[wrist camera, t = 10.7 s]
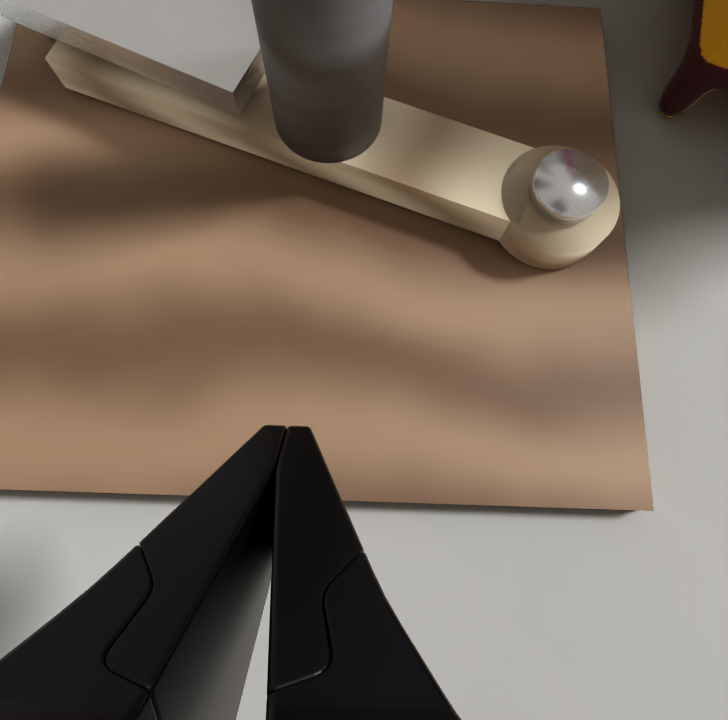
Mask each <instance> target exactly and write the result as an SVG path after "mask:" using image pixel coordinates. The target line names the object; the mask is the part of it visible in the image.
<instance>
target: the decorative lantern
mask: <svg viewBox="0 0 728 720" xmlns="http://www.w3.org/2000/svg"><path fill="white" fill-rule="evenodd" d="M720 87H728V0H695V1H694V10H693V20H692V30H691V35H690V41H689V44H688V47H687V50H686V53H685V56H684V59H683V61H682V63H681V64H680V66H679V68H678V69H677V71H676V72H675V74H674V76H673V77H672V79H671V81H670V82H669V84H668V85H667V87H666V89H665V90H664V92H663V93H662V96H661V99H660V102H659V108H660V111H661V114H663V115H665V116H667V117H673V116H676V115H678V114H681V113H682V112H684V111H685V110H686V109H687V108H689V107H690V106H691V105H692V104H694V103H695V102H696V101H697V100H699V99H700V98H701V97H702V96H704V95H705V94H707V93H708V92H710V91H712V90H714V89H717V88H720Z"/></svg>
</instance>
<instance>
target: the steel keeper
mask: <svg viewBox="0 0 728 720" xmlns="http://www.w3.org/2000/svg"><path fill="white" fill-rule="evenodd" d="M0 14H1V16H2V17H4V18H6V19H8V20H11V21H13V22H16V23H18V24H20V25H23V26H25V27H28V28H30V29H33V30H35V31H37V32H40V33H42V34H45V36H46V37H47V38H48V39H49V40H51V41H53V42H56V41H57V40H59V41H61V42H64V43H66V44H69V45H71V46H73V47H76V48H78V49H81V50H83V51H85V52H88V53H90V54H93V55H95V56H97V57H100V58H102V59H105V60H107V61H110V62H112V63H114V64H117V65H119V66H122V67H124V68H126V69H129V70H131V71H134V72H136V73H138V74H141V75H143V76H146V77H148V78H150V79H153V80H155V81H158V82H160V83H162V84H165V85H167V86H170V87H172V88H174V89H177V90H179V91H182V92H184V93H187V94H189V95H191V96H194V97H196V98H199V99H201V100H203V101H206V102H208V103H211V104H213V105H215V106H218V107H220V108H223V109H225V110H227V111H230V112H232V113H235V114H237V115H240V113H241V112H242V110H243V108H244V107H245V105H246V104H247V102H248V100H249V99H250V97H251V96H252V94H253V92H254V91H255V89H256V87H257V86H258V84H259V83H260V81H261V79H262V78H263V76H264V74H265V69H264V64H263V58H262V53H261V48H260V43H259V38H258V33H257V28H256V23H255V17H254V12H253V7H252V2H251V0H0ZM608 190H609V181H608V177H607V174H606V172H605V170H604V168H603V167H602V165H601V164H600V163H599V162H598V161H597V160H596V159H595V158H593V157H592V156H590V155H589V154H587V153H585V152H582V151H579V150H574V149H562V150H557V151H554V152H552V153H550V154H548V155H547V156H546V157H545V158H544V159H543V160H542V161H541V162H540V164H539V165H538V167H537V169H536V171H535V172H534V174H533V176H532V178H531V180H530V183H529V197H530V200H531V202H532V204H533V206H534V208H535V209H536V210H537V211H538V212H539V213H540V214H541V215H542V216H543V217H545V218H546V219H548V220H550V221H552V222H555V223H558V224H564V225H572V224H577V223H580V222H583V221H585V220H586V219H588V218H589V217H590V216H591V215H592V214H593V213H594V212H595V211H596V210H597V209H598V208H599V206H600V205H601V204H602V203H603V202H604V200H605V199H606V197H607V194H608Z"/></svg>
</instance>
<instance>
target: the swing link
mask: <svg viewBox="0 0 728 720" xmlns="http://www.w3.org/2000/svg"><path fill="white" fill-rule="evenodd" d="M251 2H252V7H253V12H254V17H255V23H256V28H257V33H258V38H259V43H260V48H261V53H262V58H263V64H264V69H265V74H264V76H263V78H262V79H261V81H260V83H259V84H258V86H257V87H256V89H255V91H254V92H253V94H252V96H251V97H250V99H249V100H248V102H247V104H246V105H245V107H244V108H243V110H242V112H241V113H240V115H237V114H235V113H232V112H230V111H227V110H225V109H223V108H220V107H218V106H215V105H213V104H211V103H208V102H206V101H203V100H201V99H199V98H196V97H194V96H191V95H189V94H187V93H184V92H182V91H179V90H177V89H174V88H172V87H170V86H167V85H165V84H162V83H160V82H158V81H155V80H153V79H150V78H148V77H146V76H143V75H141V74H138V73H136V72H134V71H131V70H129V69H126V68H124V67H122V66H119V65H117V64H114V63H112V62H110V61H107V60H105V59H102V58H100V57H97V56H95V55H93V54H90V53H88V52H85V51H83V50H81V49H78V48H76V47H73V46H71V45H69V44H66V43H64V42H61V41H59V40H57V41H56V42H55V44H54V45H53V47H52V48H51V50H50V51H49V53H48V54H47V56H46V57H45V59H46V61H47V62H48V63H49V65H50V66H51V68H52V69H53V71H54V72H55V73H56V75H57V76H58V78H59V79H60V81H61V82H62V84H63V85H64V86H65V88H68V89H71V90H73V91H76V92H79V93H82V94H85V95H88V96H90V97H93V98H96V99H99V100H102V101H105V102H107V103H110V104H113V105H116V106H119V107H122V108H124V109H127V110H130V111H133V112H136V113H139V114H141V115H144V116H147V117H150V118H153V119H156V120H158V121H161V122H164V123H167V124H170V125H172V126H175V127H178V128H181V129H184V130H187V131H189V132H192V133H195V134H198V135H201V136H204V137H206V138H209V139H212V140H215V141H218V142H221V143H223V144H226V145H229V146H232V147H235V148H238V149H240V150H243V151H246V152H249V153H252V154H255V155H257V156H260V157H263V158H266V159H269V160H271V161H274V162H277V163H280V164H283V165H286V166H288V167H291V168H294V169H297V170H300V171H303V172H305V173H308V174H311V175H314V176H317V177H320V178H322V179H325V180H328V181H331V182H334V183H337V184H339V185H342V186H345V187H348V188H351V189H354V190H356V191H359V192H362V193H365V194H368V195H370V196H373V197H376V198H379V199H382V200H385V201H387V202H390V203H393V204H396V205H399V206H402V207H404V208H407V209H410V210H413V211H416V212H419V213H421V214H424V215H427V216H430V217H433V218H436V219H438V220H441V221H444V222H447V223H450V224H453V225H455V226H458V227H461V228H464V229H467V230H469V231H472V232H475V233H478V234H481V235H484V236H486V237H489V238H492V239H495V240H498V241H499V242H500V244H501V245H502V246H503V247H504V248H505V250H506V251H508V252H509V253H510V254H511V255H512V256H514V257H515V258H516V259H518V260H520V261H521V262H523V263H525V264H528V265H530V266H534V267H537V268H543V269H561V268H565V267H569V266H572V265H574V264H576V263H578V262H580V261H581V260H583V259H584V258H585V257H586V256H587V255H589V254H590V253H591V252H592V251H593V250H594V249H595V248H596V247H597V246H598V245H599V244H600V243H601V242H602V241H603V240H604V239H605V238H606V237H607V236H608V235H609V234H610V232H611V231H612V230H613V228H614V226H615V224H616V222H617V219H618V216H619V211H620V199H619V193H618V189H617V187H616V184H615V182H614V180H613V179H612V177H611V175H610V174H609V173H608V171H607V170H606V169H605V168H604V167H603V166H602V167H603V168H604V170H605V172H606V174H607V177H608V181H609V190H608V194H607V197H606V199H605V200H604V202H603V203H602V204H601V205H600V206H599V208H598V209H597V210H596V211H595V212H594V213H593V214H592V215H591V216H590V217H589V218H588V219H586V220H585V221H583V222H580V223H577V224H572V225H564V224H558V223H555V222H552V221H550V220H548V219H546V218H545V217H543V216H542V215H541V214H540V213H539V212H538V211H537V210H536V209H535V208H534V206H533V204H532V202H531V200H530V197H529V183H530V180H531V178H532V176H533V174H534V172H535V171H536V169H537V167H538V165H539V164H540V162H541V161H542V160H543V159H544V158H545V157H546V156H547V155H548V154H550V153H552V152H554V151H557V150H562V149H574V148H570V147H565V146H555V145H551V146H542V147H538V148H533V147H530V146H527V145H524V144H521V143H518V142H515V141H512V140H509V139H506V138H504V137H501V136H498V135H495V134H492V133H489V132H486V131H483V130H480V129H477V128H474V127H471V126H468V125H465V124H462V123H460V122H457V121H454V120H451V119H448V118H445V117H442V116H439V115H436V114H433V113H430V112H427V111H424V110H421V109H418V108H416V107H413V106H410V105H407V104H404V103H401V102H398V101H395V100H392V99H389V98H386V97H384V90H385V79H386V68H387V58H388V47H389V36H390V25H391V15H392V4H393V0H251ZM574 150H577V149H574Z"/></svg>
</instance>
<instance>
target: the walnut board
mask: <svg viewBox="0 0 728 720" xmlns="http://www.w3.org/2000/svg"><path fill="white" fill-rule="evenodd" d="M54 44H55V42H53V41H51V40H49V39H48V38H47V37H46V36H45V34H42V33H40V32H37V31H35V30H33V29H30V28H28V27H25V26H23V25H20V24H17V27H16V31H15V35H14V39H13V43H12V47H11V51H10V55H9V59H8V63H7V67H6V71H5V75H4V79H3V83H2V87H1V91H0V489H5V490H36V491H66V492H97V493H127V494H157V495H188V496H190V495H191V494H192V493H193V492H194V491H195V490H196V489H197V488H198V487H199V486H200V485H201V484H202V483H203V482H204V481H205V480H206V479H208V478H209V477H210V476H211V475H212V474H213V473H214V472H215V471H216V470H217V469H218V468H219V467H220V466H221V465H222V464H223V463H225V462H226V461H227V460H228V459H229V458H230V457H231V456H232V455H233V454H234V453H235V452H236V451H237V450H238V449H239V448H240V447H242V446H243V445H244V444H245V443H246V442H247V441H248V440H249V439H250V438H251V437H252V436H253V435H254V434H255V433H256V432H257V431H258V430H260V429H261V428H262V427H263V426H265V425H284V426H286V428H288V427H289V426H308V427H310V428H311V430H312V432H313V434H314V436H315V439H316V441H317V443H318V446H319V448H320V450H321V453H322V455H323V457H324V460H325V462H326V464H327V467H328V469H329V471H330V473H331V476H332V478H333V480H334V483H335V485H336V487H337V490H338V492H339V494H340V497H341V499H342V501H370V502H400V503H431V504H461V505H492V506H522V507H552V508H583V509H613V510H644V511H654V509H653V500H652V490H651V481H650V472H649V462H648V453H647V443H646V434H645V425H644V415H643V406H642V396H641V387H640V378H639V368H638V359H637V349H636V340H635V331H634V321H633V312H632V302H631V293H630V284H629V274H628V265H627V255H626V246H625V236H624V227H623V218H622V208H621V199H620V189H619V180H618V171H617V161H616V152H615V142H614V133H613V124H612V114H611V105H610V95H609V86H608V77H607V67H606V58H605V48H604V39H603V30H602V20H601V11H600V8H585V7H567V6H549V5H531V4H514V3H496V2H478V1H460V0H393V4H392V15H391V25H390V36H389V47H388V58H387V68H386V79H385V90H384V97H386V98H389V99H392V100H395V101H398V102H401V103H404V104H407V105H410V106H413V107H416V108H418V109H421V110H424V111H427V112H430V113H433V114H436V115H439V116H442V117H445V118H448V119H451V120H454V121H457V122H460V123H462V124H465V125H468V126H471V127H474V128H477V129H480V130H483V131H486V132H489V133H492V134H495V135H498V136H501V137H504V138H506V139H509V140H512V141H515V142H518V143H521V144H524V145H527V146H530V147H533V148H538V147H542V146H551V145H555V146H565V147H570V148H574V149H577V150H579V151H582V152H585V153H587V154H589V155H590V156H592V157H593V158H595V159H596V160H597V161H598V162H599V163H600V164H601V165H602V166H603V167H604V168H605V169H606V170H607V171H608V173H609V174H610V175H611V177H612V179H613V180H614V182H615V184H616V187H617V189H618V193H619V199H620V211H619V216H618V219H617V222H616V224H615V226H614V228H613V230H612V231H611V232H610V234H609V235H608V236H607V237H606V238H605V239H604V240H603V241H602V242H601V243H600V244H599V245H598V246H597V247H596V248H595V249H594V250H593V251H592V252H591V253H590V254H589V255H587V256H586V257H585V258H584V259H583V260H581V261H580V262H578V263H576V264H574V265H572V266H569V267H565V268H561V269H543V268H537V267H534V266H530V265H528V264H525V263H523V262H521V261H520V260H518V259H516V258H515V257H514V256H512V255H511V254H510V253H509V252H508V251H506V250H505V248H504V247H503V246H502V245H501V244H500V242H499V241H498V240H495V239H492V238H489V237H486V236H484V235H481V234H478V233H475V232H472V231H469V230H467V229H464V228H461V227H458V226H455V225H453V224H450V223H447V222H444V221H441V220H438V219H436V218H433V217H430V216H427V215H424V214H421V213H419V212H416V211H413V210H410V209H407V208H404V207H402V206H399V205H396V204H393V203H390V202H387V201H385V200H382V199H379V198H376V197H373V196H370V195H368V194H365V193H362V192H359V191H356V190H354V189H351V188H348V187H345V186H342V185H339V184H337V183H334V182H331V181H328V180H325V179H322V178H320V177H317V176H314V175H311V174H308V173H305V172H303V171H300V170H297V169H294V168H291V167H288V166H286V165H283V164H280V163H277V162H274V161H271V160H269V159H266V158H263V157H260V156H257V155H255V154H252V153H249V152H246V151H243V150H240V149H238V148H235V147H232V146H229V145H226V144H223V143H221V142H218V141H215V140H212V139H209V138H206V137H204V136H201V135H198V134H195V133H192V132H189V131H187V130H184V129H181V128H178V127H175V126H172V125H170V124H167V123H164V122H161V121H158V120H156V119H153V118H150V117H147V116H144V115H141V114H139V113H136V112H133V111H130V110H127V109H124V108H122V107H119V106H116V105H113V104H110V103H107V102H105V101H102V100H99V99H96V98H93V97H90V96H88V95H85V94H82V93H79V92H76V91H73V90H71V89H68V88H65V86H64V85H63V84H62V82H61V81H60V79H59V78H58V76H57V75H56V73H55V72H54V71H53V69H52V68H51V66H50V65H49V63H48V62H47V61H46V59H45V57H46V56H47V54H48V53H49V51H50V50H51V48H52V47H53V45H54Z"/></svg>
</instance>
